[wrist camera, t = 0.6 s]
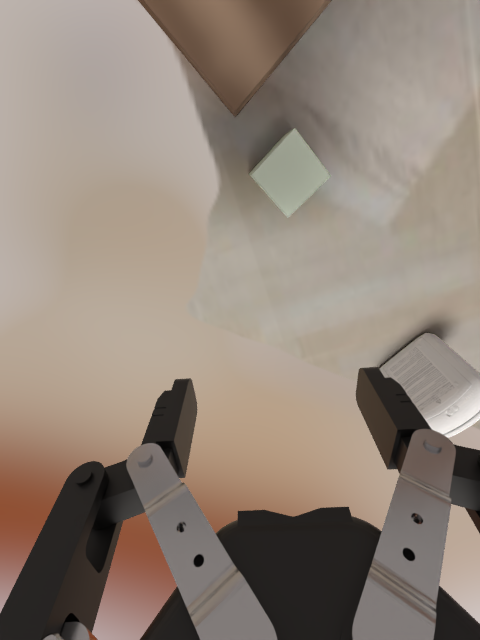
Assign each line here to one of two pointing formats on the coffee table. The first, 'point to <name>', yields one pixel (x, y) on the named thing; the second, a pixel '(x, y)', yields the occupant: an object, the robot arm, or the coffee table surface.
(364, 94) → the coffee table surface
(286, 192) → the sage block
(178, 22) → the walnut block
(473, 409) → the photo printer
